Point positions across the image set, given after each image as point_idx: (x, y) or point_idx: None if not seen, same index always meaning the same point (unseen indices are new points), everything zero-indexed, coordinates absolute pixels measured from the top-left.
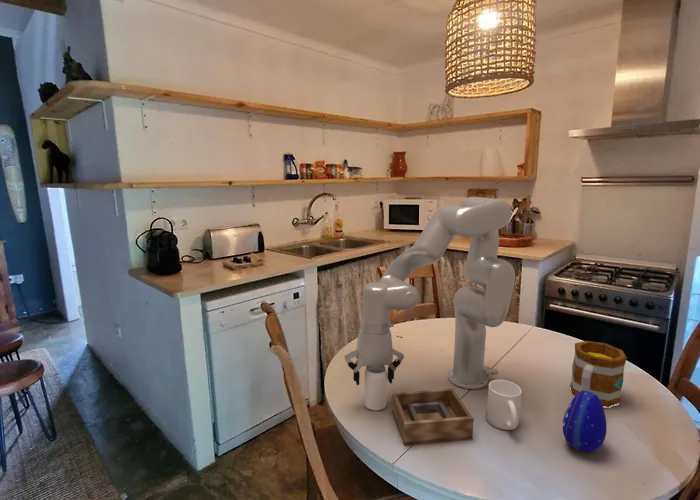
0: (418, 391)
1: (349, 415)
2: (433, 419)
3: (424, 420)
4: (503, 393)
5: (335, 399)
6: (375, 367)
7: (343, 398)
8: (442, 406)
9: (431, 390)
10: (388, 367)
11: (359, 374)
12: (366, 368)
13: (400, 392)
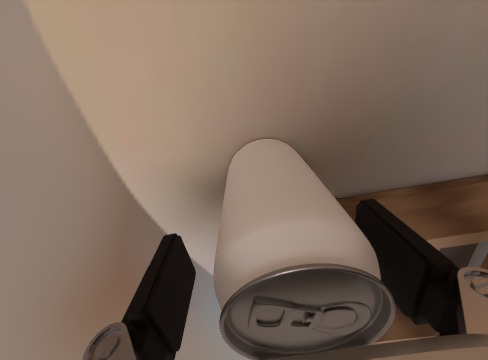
0: (460, 236)
1: (189, 222)
2: (418, 338)
3: (392, 340)
4: None
5: (119, 149)
6: (304, 301)
7: (146, 141)
8: (485, 243)
9: None
10: (424, 278)
11: (181, 340)
12: (224, 337)
13: None
